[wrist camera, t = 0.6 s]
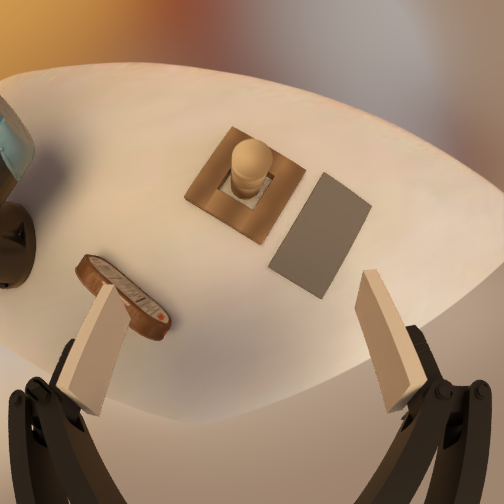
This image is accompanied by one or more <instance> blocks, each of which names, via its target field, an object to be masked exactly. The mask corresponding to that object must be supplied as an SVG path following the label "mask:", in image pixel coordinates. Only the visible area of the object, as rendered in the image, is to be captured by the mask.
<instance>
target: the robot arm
mask: <svg viewBox="0 0 504 504" xmlns="http://www.w3.org/2000/svg"><path fill="white" fill-rule="evenodd" d="M34 153H35V148H34V143H33V140H32V138H31V136H30V134H29V132H28V131H27V129H26V127H25V126H24V124H23V123H22V121H21V120H20V118H19V117H18V116H17V114H16V113H15V112H14V110H13V109H12V108H11V107H10V105H9V104H8V103H7V102H6V101H5V100H4V99H3V98H2V97H1V96H0V288H2V289H10V288H15V287H18V286H20V285H21V284H22V283H23V282H24V281H25V280H26V279H27V277H28V275H29V274H30V271H31V269H32V266H33V262H34V257H35V247H36V242H35V231H34V226H33V223H32V220H31V218H30V215H29V214H28V212H27V211H26V210H25V208H23V207H22V206H21V205H19V204H15V203H11V202H5V200H6V199H7V197H8V196H9V194H10V193H11V191H12V190H13V188H14V187H15V185H16V184H17V182H19V181H20V180H21V178H22V177H21V176H22V175H23V173H24V172H25V170H26V169H27V167H28V166H29V164H30V163H31V161H32V160H33V157H34ZM355 311H356V314H357V317H358V320H359V323H360V325H361V328H362V331H363V334H364V337H365V340H366V343H367V346H368V349H369V353H370V356H371V359H372V362H373V365H374V368H375V372H376V375H377V378H378V382H379V385H380V389H381V392H382V395H383V400H384V403H385V407H386V410H387V413H391V412H395V411H399V410H402V409H403V408H404V407H405V406H406V405H408V409H409V411H408V412H407V413H406V414H405V415H404V416H403V417H402V419H401V420H403V419H404V421H403V423H402V425H401V427H400V429H399V431H398V433H397V435H396V437H395V439H394V440H393V442H392V444H391V446H390V448H389V450H388V452H387V454H386V455H385V457H384V459H383V460H382V462H381V464H380V466H379V467H378V469H377V470H376V472H375V473H374V475H373V477H372V478H371V480H370V481H369V483H368V484H367V486H366V487H365V489H364V490H363V492H362V493H361V495H360V496H359V497H358V499H357V500H356V501H355V503H354V504H409V503H410V502H411V500H412V498H413V496H414V495H415V493H416V491H417V489H418V487H419V485H420V484H421V482H422V480H423V478H424V475H425V474H426V472H427V470H428V467H429V465H430V463H431V461H432V459H433V456H434V454H435V452H436V450H437V447H438V450H437V456H436V460H435V465H434V469H433V474H432V477H431V481H430V485H429V489H428V492H427V496H426V499H425V502H424V504H480V500H481V496H482V491H483V487H484V482H485V476H486V470H487V464H488V456H489V447H490V435H491V417H492V415H491V414H492V393H491V388H490V386H489V385H488V383H486V382H485V381H483V380H476V381H475V382H473V383H472V384H471V385H470V386H453V385H452V384H451V383H450V382H449V381H447V380H444V379H443V378H442V375H441V373H440V371H439V368H438V366H437V364H436V361H435V359H434V357H433V354H432V352H431V351H430V348H429V346H428V344H427V343H426V339H425V337H424V335H423V333H422V332H421V331H420V330H419V329H418V328H417V327H416V326H415V325H412V326H407V327H405V326H404V323H403V321H402V319H401V317H400V315H399V313H398V311H397V309H396V306H395V304H394V302H393V300H392V298H391V296H390V294H389V292H388V290H387V288H386V286H385V284H384V283H383V281H382V279H381V277H380V275H379V273H378V271H377V269H375V270H364V271H363V274H362V278H361V283H360V287H359V292H358V296H357V300H356V304H355ZM130 320H131V318H130V316H129V314H128V312H127V310H126V308H125V306H124V304H123V302H122V300H121V298H120V296H119V294H118V291H117V289H116V287H115V285H114V284H112V285H103V286H102V288H101V290H100V291H99V293H98V295H97V297H96V299H95V301H94V303H93V305H92V307H91V309H90V310H89V312H88V314H87V316H86V318H85V320H84V322H83V325H82V327H81V329H80V331H79V333H78V335H77V337H76V339H71V340H70V341H69V342H68V343H67V345H66V346H65V348H64V350H63V352H62V356H61V357H60V359H59V362H58V363H57V366H56V368H55V370H54V373H53V375H52V378H51V380H50V383H49V385H48V384H47V383H46V382H45V381H44V380H43V379H41V378H40V377H34V378H32V379H30V380H29V381H28V383H27V384H26V387H25V393H24V392H23V391H22V390H15V391H14V392H13V393H12V394H11V396H10V398H9V415H8V419H9V420H8V429H9V431H8V432H9V452H10V464H11V473H12V481H13V487H14V492H15V498H16V503H17V504H69V502H68V499H69V501H70V503H71V504H127V503H126V501H125V500H124V498H123V496H122V495H121V493H120V492H119V490H118V488H117V486H116V485H115V483H114V481H113V480H112V478H111V476H110V474H109V472H108V470H107V469H106V467H105V465H104V463H103V461H102V459H101V457H100V455H99V453H98V451H97V449H96V447H95V445H94V443H93V440H92V438H91V436H90V434H89V431H88V429H87V426H86V424H85V421H84V419H83V417H82V415H81V414H80V410H81V409H82V410H83V411H85V412H86V413H87V414H91V415H95V416H99V415H100V412H101V408H102V404H103V401H104V397H105V394H106V391H107V387H108V384H109V381H110V378H111V375H112V371H113V368H114V365H115V362H116V359H117V356H118V353H119V351H120V348H121V345H122V342H123V339H124V336H125V334H126V331H127V328H128V326H129V323H130ZM32 425H33V427H34V428H33V430H32ZM67 497H68V498H67Z"/></svg>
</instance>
